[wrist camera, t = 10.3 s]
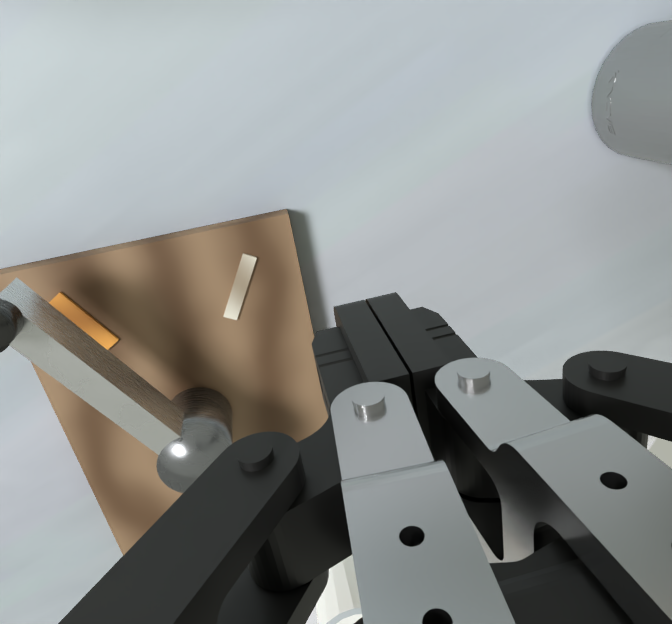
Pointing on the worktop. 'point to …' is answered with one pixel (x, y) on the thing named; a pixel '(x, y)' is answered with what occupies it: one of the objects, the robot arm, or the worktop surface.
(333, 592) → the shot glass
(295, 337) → the dial plate
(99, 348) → the lever
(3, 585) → the worktop surface
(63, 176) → the worktop surface
